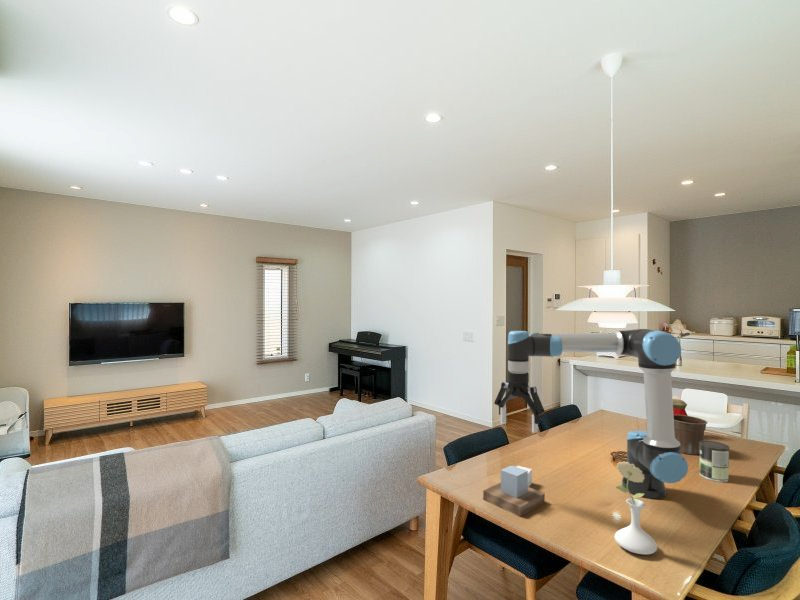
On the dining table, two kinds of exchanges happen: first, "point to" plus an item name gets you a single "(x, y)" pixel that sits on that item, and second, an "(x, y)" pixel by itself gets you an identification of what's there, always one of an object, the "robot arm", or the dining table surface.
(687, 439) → the plant pot
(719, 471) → the coffee can
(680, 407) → the bottle
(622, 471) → the flower in vase
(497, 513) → the dining table surface
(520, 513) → the walnut block
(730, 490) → the dining table surface
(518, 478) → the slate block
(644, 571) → the dining table surface
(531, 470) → the white cube
